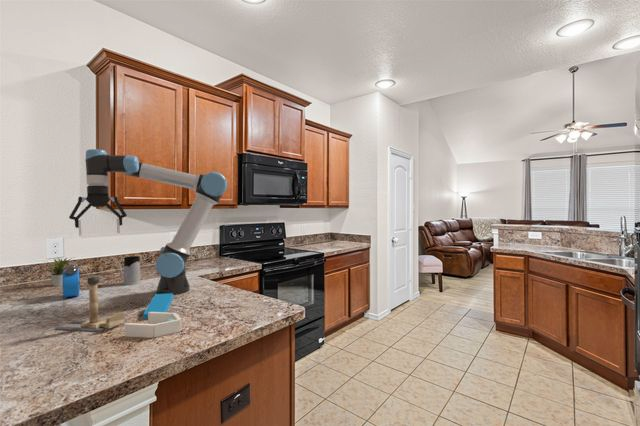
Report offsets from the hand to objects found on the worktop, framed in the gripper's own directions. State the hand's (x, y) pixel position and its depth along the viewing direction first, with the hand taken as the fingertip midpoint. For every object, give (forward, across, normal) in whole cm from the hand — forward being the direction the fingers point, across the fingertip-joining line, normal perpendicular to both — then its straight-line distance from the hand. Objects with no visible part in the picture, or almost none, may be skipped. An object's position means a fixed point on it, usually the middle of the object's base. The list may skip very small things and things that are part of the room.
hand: (100, 234), depth 133 cm
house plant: (+30, +16, -61) cm, 70 cm away
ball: (+30, -16, +50) cm, 60 cm away
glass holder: (+31, -14, -41) cm, 54 cm away
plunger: (+31, +2, +31) cm, 44 cm away
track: (+31, +6, +27) cm, 42 cm away
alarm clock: (+31, +11, -27) cm, 42 cm away
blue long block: (+32, -18, +25) cm, 45 cm away
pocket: (+32, -13, +47) cm, 58 cm away
